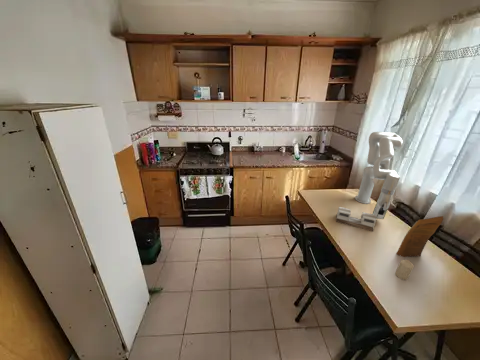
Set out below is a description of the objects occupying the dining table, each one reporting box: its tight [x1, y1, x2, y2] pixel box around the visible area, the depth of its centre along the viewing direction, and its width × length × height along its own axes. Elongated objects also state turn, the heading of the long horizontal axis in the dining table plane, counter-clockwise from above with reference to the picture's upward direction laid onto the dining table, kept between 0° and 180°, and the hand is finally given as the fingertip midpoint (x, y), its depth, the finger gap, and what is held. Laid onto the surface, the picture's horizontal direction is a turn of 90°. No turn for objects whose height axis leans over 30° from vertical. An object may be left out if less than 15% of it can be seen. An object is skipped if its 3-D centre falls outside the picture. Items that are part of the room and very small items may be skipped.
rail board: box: [335, 206, 377, 232], centre depth 153 cm, size 10×24×8 cm, turn 65°
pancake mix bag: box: [395, 215, 444, 258], centre depth 120 cm, size 7×19×28 cm, turn 95°
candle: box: [395, 259, 415, 281], centre depth 109 cm, size 6×6×10 cm
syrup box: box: [371, 198, 391, 220], centre depth 153 cm, size 6×6×14 cm
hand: (379, 211), depth 154 cm, fingers closed on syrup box, 7 cm apart
